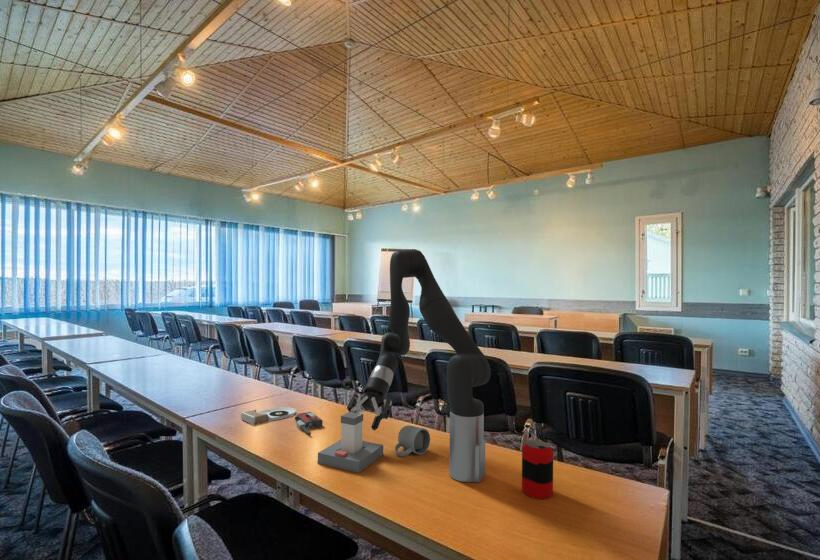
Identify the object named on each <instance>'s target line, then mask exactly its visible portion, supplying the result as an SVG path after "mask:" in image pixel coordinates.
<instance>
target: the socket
mask: <svg viewBox="0 0 820 560" xmlns="http://www.w3.org/2000/svg"><path fill="white" fill-rule="evenodd" d="M383 455H384V444H382V443H381V444H380V443H376V442H370V441H367V440H362V450H361V451H360V452H358V453H357V454H350V453H348V452H345V451H341V439H340V440H338V441H336V442H334V443H332V444H331V445H329V446H327V447H326V448H324V449H322V450H321V451H319V452H317V464H319V465H324V466H328V467H332V468H337V469H340V470H345V471H348V472H353V473H356V474H359V473H361V472H362V471H364V470H365V469H366V468H367V467H369V466H370V465H372V464H373V463H374V462H375V461H377V460H378V459H379V458H381V457H382V456H383Z"/></svg>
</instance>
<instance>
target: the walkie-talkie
mask: <svg viewBox="0 0 820 560" xmlns="http://www.w3.org/2000/svg"><path fill="white" fill-rule="evenodd" d="M294 420H295V421H296V428H297V429H298V430H299V431H304V432H305V433H306V434H308V435H312V432H311V431H310V430H312V429H316V428H317V427H318V429H319V428H322V427H323V422H324V421H323V419H322V418H321V417H319V416H318V415H316V414H315V413H314V412H311V411H305V412H300V413H297V414H296V416H294Z"/></svg>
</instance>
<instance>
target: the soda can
mask: <svg viewBox="0 0 820 560" xmlns="http://www.w3.org/2000/svg"><path fill="white" fill-rule="evenodd" d="M521 490H522V492H523V493H524V494H525V495H527V496H528V497H530V498H533V497H534V498H533V499H537V498H540V499H539V500H545V499H544V498H547V499H549V498H551V497H552V496H553V494H554V450H553V449H552V447H551V446H550V444H549V443H547V442H546V441H542V440H538V439H537V440H536V439H533V440H528V441H526V442H525V444H524V445H523V446H522V449H521Z"/></svg>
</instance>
